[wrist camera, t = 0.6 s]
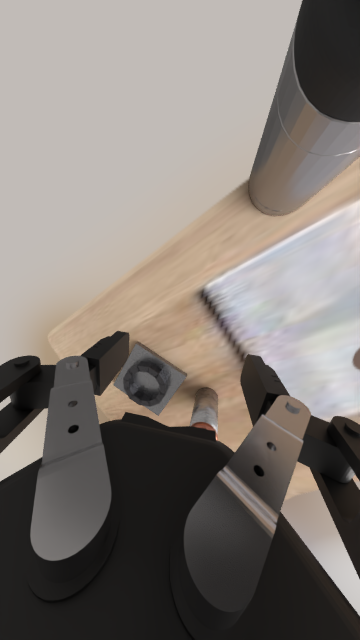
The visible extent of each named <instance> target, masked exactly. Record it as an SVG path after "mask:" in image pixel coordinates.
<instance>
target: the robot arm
mask: <svg viewBox="0 0 360 640" xmlns="http://www.w3.org/2000/svg"><path fill="white" fill-rule="evenodd" d="M359 157H360V0H303V1H302V4H301V8H300V11H299V15H298V18H297V22H296V25H295V28H294V32H293V35H292V38H291V42H290V45H289V48H288V52H287V55H286V58H285V62H284V65H283V69H282V73H281V75H280V79H279V82H278V86H277V89H276V92H275V96H274V99H273V102H272V105H271V109H270V112H269V115H268V119H267V122H266V125H265V128H264V132H263V135H262V138H261V142H260V145H259V148H258V152H257V155H256V158H255V161H254V164H253V168H252V171H251V174H250V179H249V193H250V198H251V200H252V202H253V204H254V205H255V206H256V208H257V209H259V210H260V211H261V212H263V213H265V214H268V215H273V216H281V215H285V214H289V213H291V212H293V211H295V210H297V209H298V208H300V207H301V206H303V205H304V204H305V203H306V202H307V201H308V200H310V199H311V198H312V197H313V196H314V195H316V194H317V193H318V192H319V191H320V190H322V189H323V188H324V187H325V186H326V185H327V184H329V183H330V182H331V181H332V180H333V179H334V178H336V177H337V176H338V175H339V174H340V173H341V172H343V171H344V170H345V169H346V168H347V167H348V166H350V165H351V164H352V163H353V162H354V161H355V160H357V159H358V158H359ZM128 355H129V333H127V332H121V331H117V332H115V333H114V334H113V335H112V336H111V337H109V336H108V337H106V338H103V339H101V340H100V341H98V342H97V343H96V344H95V345H93V347H91V348H89V349H88V350H87V351H86V352H84V353H83V354H82V355H81V356H70V357H66V358H64V359H62V360H60V361H59V362H58V363H57V364H56V365H41V363H40V359H39V358H38V357H36V356H22V357H18V358H15V359H12V360H9V361H8V362H6V363H4V364H2V365H1V366H0V403H1V402H2V401H3V400H4V399H6V398H7V397H8V396H10V398H11V403H9V404H8V405H7V406H6V407H4V408H3V409H2V410H1V411H0V453H1V452H2V451H3V450H4V449H5V448H6V447H7V446H8V445H9V444H10V443H11V442H12V441H13V440H14V439H15V438H16V437H17V436H18V435H19V434H20V433H21V432H22V431H23V430H24V429H25V428H26V427H27V426H28V425H29V424H30V423H31V422H32V421H33V420H34V419H35V417H36V416H37V415H38V414H39V413H40V412H41V411H42V410H43V409H44V408H48V417H47V424H46V432H45V441H44V449H43V457H42V458H40V459H38V460H37V461H35V462H33V463H31V464H30V465H28V466H26V467H25V468H23V469H21V470H19V471H18V472H16V473H14V474H12V475H11V476H9V477H7V478H5V479H4V480H2V481H1V482H0V640H360V616H359V615H358V614H357V612H356V611H355V609H354V608H353V607H352V605H351V604H350V603H349V601H348V600H347V599H346V598H345V596H344V595H343V594H342V592H341V591H340V590H339V588H338V587H337V586H336V584H335V583H334V582H333V580H332V579H331V578H330V577H329V575H328V574H327V572H326V571H325V570H324V569H323V567H322V566H321V565H320V563H319V562H318V561H317V559H316V558H315V557H314V555H313V554H312V553H311V551H310V550H309V549H308V547H307V546H306V545H305V543H304V542H303V541H302V539H301V538H300V537H299V535H298V534H297V533H296V531H295V530H294V529H293V528H292V526H291V525H290V524H289V522H288V521H287V520H286V519H285V517H284V516H283V514H282V513H281V512H280V510H281V507H282V504H283V501H284V498H285V495H286V492H287V489H288V486H289V483H290V480H291V477H292V475H293V472H294V469H295V466H296V463H297V461H298V462H300V463H302V464H304V465H306V466H308V467H310V470H311V472H312V474H313V476H314V479H315V481H316V483H317V485H318V488H319V490H320V492H321V494H322V496H323V499H324V501H325V503H326V505H327V508H328V510H329V512H330V514H331V516H332V518H333V521H334V523H335V525H336V528H337V530H338V532H339V534H340V536H341V539H342V541H343V543H344V545H345V548H346V550H347V552H348V554H349V556H350V559H351V561H352V563H353V565H354V568H355V570H356V572H357V574H358V576H359V579H360V490H359V489H358V487H357V485H356V484H355V482H354V480H353V479H352V478H353V476H354V475H355V474H356V476H357V478H358V479H359V481H360V425H359V424H358V423H356V422H354V421H352V420H350V419H348V418H345V417H341V416H335V417H333V418H332V420H331V422H330V423H329V422H326V421H324V420H321V419H319V418H317V417H314V416H312V415H311V413H310V410H309V409H308V408H307V407H306V406H305V405H304V404H303V403H302V402H300V401H299V400H297V399H295V398H293V397H291V396H290V395H289V393H288V392H287V390H286V389H285V387H284V385H283V384H282V382H281V380H280V379H279V378H278V376H277V374H276V372H275V371H274V370H273V369H272V368H271V367H269V366H268V365H265V363H264V362H263V360H262V358H261V357H260V356H255V355H250V354H248V355H247V357H246V360H245V363H244V366H243V370H242V373H241V386H242V390H243V393H244V397H245V400H246V404H247V407H248V411H249V414H250V418H251V421H252V424H253V428H252V430H251V431H250V432H249V434H248V435H247V437H246V438H245V439H244V441H243V442H242V444H241V445H240V446H239V448H238V449H237V451H236V452H235V453H234V452H233V451H232V450H231V449H230V448H229V447H227V446H226V445H224V444H223V443H221V442H220V441H218V440H216V431H212V430H208V429H203V428H198V427H194V426H186V427H168V426H165V425H163V424H161V423H159V422H157V421H155V420H153V419H151V418H149V417H146V416H142V415H137V414H132V413H128V412H125V414H124V416H123V418H122V419H120V420H112V421H108V422H105V423H102V424H100V425H99V420H98V414H97V408H96V402H95V396H94V395H99V396H101V394H102V393H103V392H104V390H105V389H106V388H107V386H108V385H109V384H110V382H111V381H112V380H113V378H114V377H115V376H116V374H117V373H118V372H119V370H120V369H121V368H122V366H123V365H124V364H125V363H126V361H127V359H128Z"/></svg>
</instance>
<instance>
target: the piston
mask: <svg viewBox="0 0 360 640" xmlns="http://www.w3.org/2000/svg"><path fill="white" fill-rule="evenodd" d="M190 426H194V427H198V428H203V429H208V430H212V431H216V440H218V395H217V393H216V392H215V391H214V390H213V389H211V388H201V389H199V390H198V391H197V393H196V398H195V403H194V407H193V412H192V417H191V422H190Z"/></svg>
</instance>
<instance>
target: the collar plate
mask: <svg viewBox="0 0 360 640" xmlns="http://www.w3.org/2000/svg"><path fill="white" fill-rule="evenodd" d="M186 376H187V374H186V373H185V372H183V371H182V370H180V369H179V368H177V367H176V366H174V365H173V364H171V363H170V362H168V361H167V360H165V359H164V358H162V357H161V356H159V355H158V354H156V353H154V352H153V351H151V350H150V349H148V348H147V347H145V346H144V345H142V344H141V343H139V342H137V343H136V345H135V347H134V348H133V350H132V352H131V354H130V356H129V357H128V359H127V361H126V363H125V365H124V367H123V368H122V370H121V372H120V374H119V376H118V377H117V379H116V381H115V383H114V386H115V387H117V388H118V389H120V390H121V391H123V392H124V393H126V394H127V395H128V396H129V398H130V399H131V400H133V401H134V402H136V403H137V404H139V405H143V406H145V407H146V408H148V409H149V410H151V411H152V412H154V413H155V414H156V415H158V416H159V414H160V413H161V411H162V410H163V409H164V407H165V406H166V404H167V403H168V402H169V400H170V399H171V397H172V396H173V395H174V393H175V392H176V390H177V389H178V388H179V386H180V385H181V383H182V382H183V381H184V379H185V378H186Z"/></svg>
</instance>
